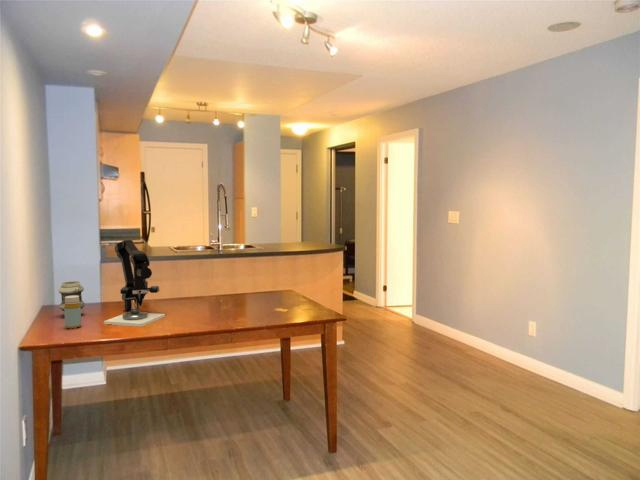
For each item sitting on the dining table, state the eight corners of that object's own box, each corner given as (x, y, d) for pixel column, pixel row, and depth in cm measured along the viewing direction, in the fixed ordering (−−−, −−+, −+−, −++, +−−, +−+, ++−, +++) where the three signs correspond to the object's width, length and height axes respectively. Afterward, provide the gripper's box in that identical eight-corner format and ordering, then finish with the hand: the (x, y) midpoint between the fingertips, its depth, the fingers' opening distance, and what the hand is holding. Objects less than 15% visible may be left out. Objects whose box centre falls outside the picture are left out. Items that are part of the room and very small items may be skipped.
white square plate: (103, 324, 245) (103, 321, 245) (129, 314, 265) (129, 311, 265) (141, 326, 240) (141, 323, 240) (164, 316, 261) (164, 314, 260)
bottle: (70, 329, 234) (69, 298, 233) (62, 327, 238) (60, 297, 237) (84, 326, 240) (83, 296, 239) (75, 324, 244) (74, 294, 243)
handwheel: (148, 318, 249) (148, 305, 249) (122, 320, 245) (122, 307, 244) (146, 310, 266) (145, 298, 266) (122, 312, 262) (121, 300, 261)
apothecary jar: (60, 314, 266) (59, 281, 264) (85, 312, 270) (84, 279, 269) (58, 319, 255) (56, 284, 253) (84, 317, 259) (83, 283, 258)
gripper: (160, 274, 271) (161, 302, 272) (125, 275, 269) (126, 303, 270) (156, 277, 260) (157, 306, 261) (119, 278, 258) (120, 307, 259)
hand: (140, 306), depth 263 cm, fingers closed
